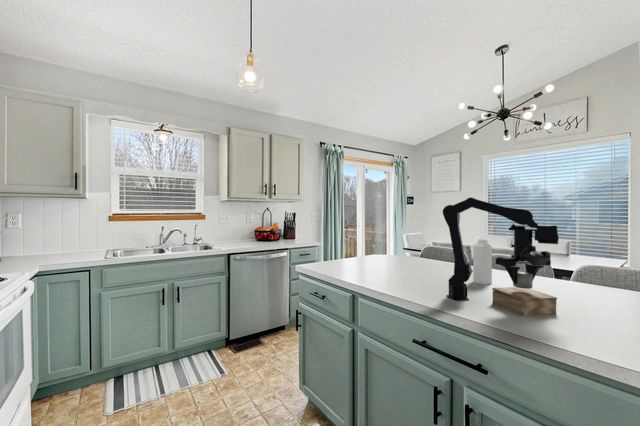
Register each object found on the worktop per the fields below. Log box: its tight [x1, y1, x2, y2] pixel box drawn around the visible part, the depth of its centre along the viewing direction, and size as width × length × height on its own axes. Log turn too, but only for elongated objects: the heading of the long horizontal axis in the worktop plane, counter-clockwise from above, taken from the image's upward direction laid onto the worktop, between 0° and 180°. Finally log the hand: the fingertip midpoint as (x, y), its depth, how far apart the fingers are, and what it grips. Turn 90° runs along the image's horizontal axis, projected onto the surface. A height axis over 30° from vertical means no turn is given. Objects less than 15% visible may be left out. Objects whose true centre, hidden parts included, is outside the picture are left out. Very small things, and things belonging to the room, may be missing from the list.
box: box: [492, 290, 557, 317], centre depth 111 cm, size 14×14×5 cm
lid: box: [492, 286, 558, 301], centre depth 111 cm, size 14×14×1 cm
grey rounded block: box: [512, 271, 534, 289], centre depth 111 cm, size 6×6×5 cm
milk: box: [472, 238, 493, 286], centre depth 149 cm, size 6×6×22 cm
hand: (522, 283), depth 111 cm, fingers closed on grey rounded block, 6 cm apart
